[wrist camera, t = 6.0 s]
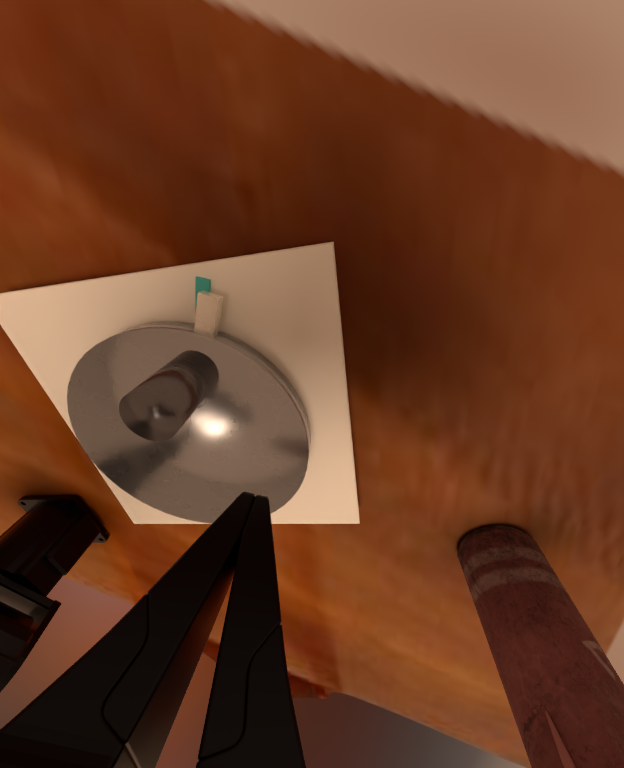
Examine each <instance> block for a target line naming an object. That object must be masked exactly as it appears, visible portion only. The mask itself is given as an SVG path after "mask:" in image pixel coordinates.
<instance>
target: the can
mask: <svg viewBox="0 0 624 768" xmlns="http://www.w3.org/2000/svg"><path fill="white" fill-rule="evenodd" d="M458 558H459V561H460V564H461V566H462V569H463V572H464V575H465V578H466V581H467V584H468V586H469V589H470V592H471V595H472V598H473V601H474V604H475V606H476V609H477V612H478V615H479V618H480V621H481V624H482V626H483V629H484V632H485V635H486V638H487V641H488V644H489V646H490V649H491V652H492V655H493V658H494V661H495V664H496V666H497V669H498V672H499V675H500V678H501V681H502V684H503V686H504V689H505V692H506V695H507V698H508V701H509V704H510V706H511V709H512V712H513V715H514V718H515V721H516V724H517V726H518V729H519V732H520V735H521V738H522V741H523V744H524V746H525V749H526V752H527V755H528V758H529V761H530V764H531V766H532V768H624V684H623V683H622V681H621V680H620V678H619V676H618V675H617V673H616V671H615V670H614V668H613V667H612V665H611V663H610V662H609V660H608V658H607V657H606V655H605V653H604V652H603V650H602V649H601V647H600V645H599V644H598V642H597V640H596V639H595V637H594V636H593V634H592V632H591V631H590V629H589V627H588V626H587V624H586V623H585V621H584V619H583V618H582V616H581V614H580V613H579V611H578V610H577V608H576V606H575V605H574V603H573V601H572V600H571V598H570V597H569V595H568V593H567V592H566V590H565V588H564V587H563V585H562V584H561V582H560V580H559V579H558V577H557V575H556V574H555V572H554V571H553V569H552V567H551V566H550V564H549V562H548V561H547V559H546V558H545V556H544V554H543V553H542V551H541V549H540V548H539V546H538V545H537V543H536V542H535V541H534V540H533V539H532V537H531V536H529V535H527V534H526V533H524V532H522V531H520V530H518V529H516V528H514V527H509V526H488V527H483V528H480V529H477V530H475V531H472V532H471V533H469V534H468V535H466V536H465V537H464V538H463V540H462V541H461V542H460V546H459V550H458Z"/></svg>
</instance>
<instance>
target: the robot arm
mask: <svg viewBox="0 0 624 768" xmlns="http://www.w3.org/2000/svg"><path fill="white" fill-rule="evenodd" d="M18 503H19V504H20V505H21V506H22V508H23V509H24V510H25V511H26V512H27V513H26V514H24V515H23V516H22V517H21V518H20V519H19V520H18V521H17V522H16V523H14V524H13V525H12V526H11V527H10V528H9V529H8V530H7V531H5V532H4V533H3V534H2V535H1V536H0V692H1V691H2V690H3V688H4V687H5V686H6V685H7V684H8V682H9V681H10V680H11V679H12V677H13V676H14V675H15V673H16V672H17V671H18V669H19V668H20V667H21V665H22V664H23V662H24V661H25V659H26V658H27V656H28V654H29V653H30V651H31V650H32V648H33V647H34V645H35V644H36V642H37V641H38V639H39V638H40V636H41V635H42V633H43V631H44V630H45V628H46V627H47V625H48V624H49V622H50V621H51V619H52V617H53V616H54V614H55V613H56V611H57V610H58V608H59V607H60V605H61V603H60V602H58V601H56V600H55V601H53V600H51V599H49V598H47V597H46V596H47V595H48V594H49V592H50V591H51V590H52V589H53V587H54V586H55V585H56V584H57V582H58V581H59V580H60V579H61V578H62V576H63V575H66V574H67V573H68V572H69V571H70V569H71V568H72V567H73V566H74V565H75V563H76V562H77V561H78V560H79V558H80V557H81V556H82V555H83V553H84V552H85V551H86V550H87V548H88V547H89V546H90V545H91V543H92V542H97V543H104V542H106V541H107V539H108V538H109V536H108V535H107V534H106V532H105V531H104V530H103V528H102V527H101V526H100V524H99V523H98V522H97V520H96V519H95V518H94V516H93V515H92V514H91V513H90V511H89V510H88V509H87V507H86V506H85V505H84V503H83V502H82V501H81V499H80V498H78V497H77V496H27V497H22V498H21V499H20V500H18ZM232 579H233V581H232ZM231 581H232V586H231V591H230V597H229V602H228V607H227V612H226V617H225V622H224V627H223V632H222V637H221V642H220V647H219V653H218V658H217V663H216V668H215V673H214V678H213V683H212V688H211V693H210V699H209V704H208V709H207V714H206V719H205V724H204V729H203V734H202V739H201V744H200V750H199V754H198V763H197V765H196V768H306V766H305V760H304V755H303V750H302V746H301V741H300V735H299V731H298V726H297V721H296V716H295V711H294V706H293V701H292V695H291V689H290V684H289V678H288V672H287V665H286V657H285V649H284V641H283V631H282V625H281V612H280V602H279V592H278V582H277V572H276V562H275V552H274V542H273V532H272V522H271V513H270V503H269V498H268V497H267V496H262V495H256V496H255V494H254V493H249V492H242V493H241V494H240V495H239V496H238V497H237V498H236V499H235V500H234V501H233V502H232V503H231V504H230V505H229V507H228V508H227V509H226V510H225V511H224V512H223V513H222V514H221V515H220V516H219V517H218V518H217V519H216V520H215V521H214V522H213V523H212V524H211V526H210V527H209V528H208V529H207V530H206V531H205V532H204V533H203V534H202V535H201V536H200V537H199V538H198V539H197V540H196V541H195V542H194V543H193V545H192V546H191V547H190V548H189V549H188V550H187V551H186V552H185V553H184V554H183V555H182V556H181V557H180V558H179V559H178V560H177V561H176V562H175V564H174V565H173V566H172V567H171V568H170V569H169V570H168V571H167V572H166V573H165V574H164V575H163V576H162V577H161V578H160V579H159V580H158V581H157V583H156V584H155V585H154V586H153V587H152V588H151V589H150V590H149V591H148V594H145V595H144V596H143V597H142V598H141V599H140V600H139V601H138V602H137V603H136V605H135V606H134V607H133V608H132V609H131V610H130V611H129V612H128V613H127V614H126V615H125V616H124V617H123V618H122V619H121V620H120V621H119V622H118V623H117V624H116V625H115V626H114V627H113V628H112V629H111V630H110V631H109V632H108V633H107V634H106V635H105V636H104V637H103V638H102V639H100V640H99V641H98V642H97V643H96V644H95V645H94V646H93V647H92V648H91V649H90V650H89V651H88V652H87V653H85V654H84V655H83V656H82V657H81V658H80V659H79V660H78V661H77V662H75V663H74V665H72V666H71V667H70V668H69V669H68V670H67V671H65V672H64V673H63V674H62V675H61V676H60V677H59V678H58V679H57V680H56V681H54V682H53V683H52V684H51V685H50V686H49V687H48V688H46V689H45V690H44V691H43V692H42V693H41V694H40V695H39V696H38V697H36V698H35V699H34V700H33V701H32V702H31V703H30V704H29V705H28V706H26V708H24V709H23V710H22V711H21V712H20V713H19V714H18V715H17V716H15V717H14V718H13V719H12V720H11V721H10V722H9V723H7V724H6V725H5V726H4V727H3V728H2V729H0V768H155V767H156V764H157V762H158V760H159V757H160V755H161V752H162V750H163V747H164V745H165V742H166V740H167V737H168V735H169V733H170V730H171V728H172V725H173V723H174V720H175V718H176V716H177V713H178V711H179V708H180V706H181V703H182V701H183V698H184V696H185V694H186V691H187V689H188V686H189V684H190V681H191V679H192V677H193V674H194V672H195V669H196V666H197V664H198V662H199V660H200V657H201V654H202V652H203V650H204V647H205V645H206V642H207V640H208V638H209V635H210V633H211V630H212V628H213V625H214V623H215V620H216V618H217V616H218V613H219V611H220V608H221V606H222V603H223V601H224V598H225V596H226V594H227V591H228V589H229V586H230V584H231Z"/></svg>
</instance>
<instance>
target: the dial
mask: <svg viewBox="0 0 624 768" xmlns="http://www.w3.org/2000/svg"><path fill="white" fill-rule="evenodd" d="M222 301H223V296H219V295H216V294H213V293H210V292H207V291H204V290H203V291H200V292H198V295H197V306H196V316H195V323H188V322H180V321H158V322H151V323H145V324H141V325H138V326H135V327H132V328H129V329H127V330H124V331H122V332H120V333H118V334H116V335H114V336H111V337H109V338H107V339H106V340H104V341H102V342H100V343H98V344H96V345H95V346H94V347H92V348H91V349H90V350H89V351H87V352H86V353H85V354H84V355H83V357H82V358H81V359H80V360H79V361H78V363H77V364H76V366H75V368H74V370H73V372H72V374H71V377H70V381H69V384H68V391H67V406H68V413H69V417H70V422H71V425H72V427H73V430H74V432H75V435H76V437H77V439H78V441H79V442H80V444H81V446H82V448H83V449H84V451H85V452H86V454H87V455H88V456H89V458H90V459H91V460H92V461H93V463H94V464H95V465H96V466H97V467H98V469H99V470H100V471H101V472H102V473H104V474H105V475H106V476H107V477H108V478H109V479H110V480H111V481H112V482H113V483H115V484H116V485H117V486H118V487H119V488H121V489H122V490H124V491H125V492H127V493H128V494H129V495H131V496H132V497H134V498H136V499H138V500H139V501H141V502H143V503H145V504H147V505H149V506H151V507H153V508H155V509H157V510H159V511H162V512H164V513H167V514H170V515H173V516H176V517H179V518H183V519H187V520H191V521H196V522H203V523H213V522H214V521H215V520H216V519H217V518H218V517H219V516H220V515H221V514H222V513H223V512H224V511H225V510H226V509H227V508H228V507H229V505H230V504H231V503H232V502H233V501H234V500H235V499H236V498H237V497H238V496H239V495H240V494H241V493H242V492H249V493H254V494H255V496H256V495H262V496H267V497H268V498H269V503H270V513H273V512H275V511H277V510H278V509H280V508H281V507H283V506H284V505H285V504H286V503H287V502H288V501H289V500H291V499H292V498H293V496H294V495H295V494H296V492H297V491H298V490H299V488H300V486H301V484H302V482H303V480H304V477H305V474H306V471H307V465H308V459H309V452H310V444H311V433H310V425H309V421H308V416H307V413H306V411H305V408H304V405H303V403H302V401H301V399H300V397H299V395H298V394H297V392H296V390H295V389H294V387H293V386H292V384H291V383H290V382H289V380H288V379H287V377H286V376H285V375H284V374H283V373H282V372H281V371H280V370H279V369H278V368H277V367H276V365H274V364H273V363H272V362H271V361H270V360H269V359H267V358H266V357H265V356H264V355H263V354H262V353H260V352H259V351H257V350H256V349H254V348H253V347H251V346H250V345H248V344H247V343H245V342H243V341H241V340H239V339H237V338H235V337H234V336H232V335H230V334H227V333H224V332H222V331H219V322H220V315H221V308H222Z"/></svg>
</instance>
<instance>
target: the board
mask: <svg viewBox="0 0 624 768" xmlns="http://www.w3.org/2000/svg"><path fill="white" fill-rule="evenodd" d="M203 290H204V291H207V292H210V293H213V294H216V295H219V296H223V301H222V308H221V315H220V322H219V331H222V332H224V333H227V334H230V335H232V336H234V337H235V338H237V339H239V340H241V341H243V342H245V343H247V344H248V345H250V346H251V347H253V348H254V349H256V350H257V351H259V352H260V353H262V354H263V355H264V356H265V357H266V358H267V359H269V360H270V361H271V362H272V363H273V364H274V365H276V367H277V368H278V369H279V370H280V371H281V372H282V373H283V374H284V375H285V376H286V377H287V379H288V380H289V382H290V383H291V384H292V386H293V387H294V389H295V390H296V392H297V394H298V395H299V397H300V399H301V401H302V403H303V405H304V408H305V411H306V413H307V416H308V421H309V425H310V433H311V444H310V452H309V459H308V465H307V471H306V474H305V477H304V480H303V482H302V484H301V486H300V488H299V490H298V491H297V492H296V494H295V495H294V496H293V498H292V499H291V500H289V501H288V502H287V503H286V504H285V505H284V506H283V507H281V508H280V509H278V510H277V511H275V512H273V513H271V522H272V524H360V522H359V505H358V495H357V484H356V473H355V463H354V452H353V442H352V431H351V420H350V410H349V399H348V388H347V378H346V367H345V357H344V346H343V335H342V325H341V314H340V303H339V293H338V282H337V272H336V261H335V250H334V242H327V243H321V244H314V245H308V246H301V247H295V248H288V249H282V250H275V251H269V252H262V253H256V254H249V255H243V256H236V257H230V258H223V259H217V260H210V261H204V262H197V263H191V264H184V265H178V266H171V267H165V268H158V269H152V270H145V271H139V272H133V273H126V274H120V275H113V276H107V277H100V278H94V279H87V280H81V281H74V282H68V283H61V284H55V285H48V286H42V287H35V288H29V289H22V290H16V291H9V292H4V293H0V325H1V326H2V328H3V329H4V331H5V332H6V334H7V335H8V337H9V338H10V340H11V341H12V343H13V344H14V346H15V347H16V348H17V350H18V351H19V353H20V354H21V356H22V357H23V359H24V360H25V362H26V363H27V365H28V366H29V368H30V369H31V371H32V372H33V374H34V375H35V377H36V378H37V380H38V381H39V383H40V384H41V386H42V387H43V389H44V390H45V392H46V393H47V395H48V396H49V398H50V399H51V401H52V402H53V404H54V405H55V407H56V408H57V410H58V411H59V413H60V414H61V416H62V417H63V419H64V420H65V422H66V423H67V425H68V426H69V428H70V429H71V431H72V432H73V434H74V435H75V432H74V430H73V427H72V425H71V422H70V417H69V413H68V406H67V391H68V384H69V381H70V377H71V374H72V372H73V370H74V368H75V366H76V364H77V363H78V361H79V360H80V359H81V358H82V357H83V355H84V354H85V353H86V352H87V351H89V350H90V349H91V348H92V347H94V346H95V345H96V344H98V343H100V342H102V341H104V340H106V339H107V338H109V337H111V336H114V335H116V334H118V333H120V332H122V331H124V330H127V329H129V328H132V327H135V326H138V325H141V324H145V323H151V322H158V321H180V322H188V323H195V316H196V306H197V295H198V292H200V291H203ZM75 437H76V435H75ZM76 438H77V437H76ZM77 440H78V439H77ZM79 443H80V442H79ZM92 462H93V461H92ZM94 465H95V464H94ZM95 466H96V465H95ZM96 468H97V469H98V467H97V466H96ZM98 471H99V472H100V474H101V475H102V477H103V478H104V480H105V481H106V483H107V484H108V486H109V487H110V489H111V490H112V492H113V493H114V495H115V496H116V498H117V499H118V501H119V502H120V504H121V505H122V507H123V508H124V510H125V511H126V513H127V514H128V516H129V517H130V519H131V520H132V522H133V523H134V524H212V523H203V522H196V521H191V520H187V519H183V518H179V517H176V516H173V515H170V514H167V513H164V512H162V511H159V510H157V509H155V508H153V507H151V506H149V505H147V504H145V503H143V502H141V501H139V500H138V499H136V498H134V497H132V496H131V495H129V494H128V493H127V492H125V491H124V490H122V489H121V488H119V487H118V486H117V485H116V484H115V483H113V482H112V481H111V480H110V479H109V478H108V477H107V476H106V475H105V474H104V473H102V472H101V471H100V470H99V469H98Z"/></svg>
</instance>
